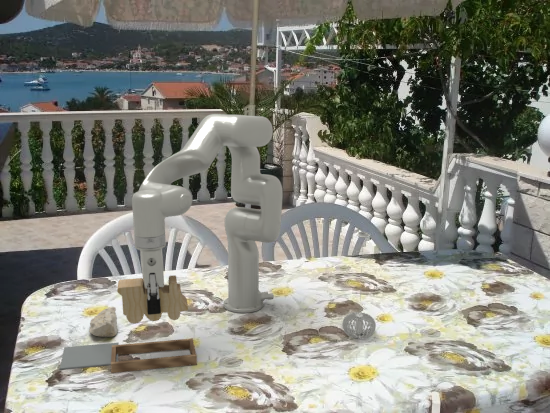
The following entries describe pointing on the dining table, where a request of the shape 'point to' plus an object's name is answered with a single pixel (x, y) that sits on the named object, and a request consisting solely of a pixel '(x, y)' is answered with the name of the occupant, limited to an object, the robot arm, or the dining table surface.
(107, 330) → the stone
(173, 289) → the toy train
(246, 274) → the robot arm
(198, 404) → the dining table surface
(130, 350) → the pocket frame
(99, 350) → the slate mat
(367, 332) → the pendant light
